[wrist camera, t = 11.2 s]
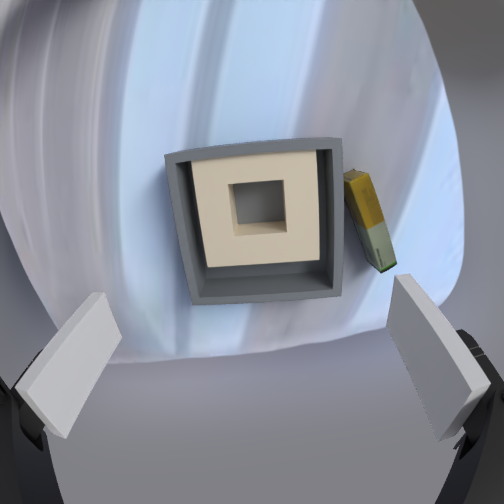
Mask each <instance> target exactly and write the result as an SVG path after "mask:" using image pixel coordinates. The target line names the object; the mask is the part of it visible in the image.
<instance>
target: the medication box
mask: <svg viewBox="0 0 504 504" xmlns="http://www.w3.org/2000/svg"><path fill="white" fill-rule="evenodd" d="M343 178H344V198H345V200H346V203H347V205H348V208H349V211H350V213H351V216H352V218H353V221H354V224H355V227H356V229H357V232H358V235H359V238H360V241H361V244H362V247H363V250H364V253H365V255H366V258H367V261H368V262H369V263H370V264H371V265H372V266H373V267H374V268H376V269H377V270H378V271H379V272H380V273H383V272H385V271H387V270H389V269H391V268H392V267H394V266H395V265H396V264H397V261H396V257H395V253H394V250H393V246H392V242H391V239H390V236H389V232H388V229H387V226H386V222H385V219H384V216H383V213H382V210H381V207H380V204H379V201H378V198H377V195H376V192H375V189H374V187H373V184H372V181H371V178H370V176H369V174H368V173H365V172H361V171H356V170H355V169H353V170H351V171H349V172H346V173H345V174H343Z"/></svg>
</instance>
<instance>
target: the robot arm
mask: <svg viewBox="0 0 504 504" xmlns="http://www.w3.org/2000/svg"><path fill="white" fill-rule="evenodd" d="M386 327H387V329H388V331H389V333H390V335H391V337H392V339H393V341H394V343H395V345H396V347H397V349H398V351H399V353H400V355H401V358H402V359H403V362H404V363H405V366H406V368H407V370H408V372H409V375H410V377H411V379H412V381H413V383H414V386H415V388H416V390H417V392H418V395H419V397H420V400H421V402H422V404H423V406H424V409H425V411H426V414H427V416H428V419H429V421H430V424H431V426H432V429H433V431H434V434H435V437H436V439H437V442H439V441H442V440H444V439H447V438H450V437H452V436H455V435H456V434H457V432H458V431H459V430H460V429H461V427H462V426H463V427H464V430H465V432H466V433H465V434H464V435H463V437H461V439H460V440H459V441H458V442H457V444H456V445H455V447H454V448H453V449H457V447H458V446H459V445H460V446H459V449H458V452H457V454H456V457H455V459H454V462H453V465H452V467H451V470H450V472H449V474H448V477H447V479H446V481H445V484H444V486H443V488H442V490H441V492H440V494H439V496H438V498H437V500H436V502H435V504H504V381H503V380H502V378H501V377H500V376H499V374H498V372H497V371H496V369H495V368H494V366H493V365H492V363H491V362H490V360H489V359H488V358H487V356H486V355H484V352H483V351H482V349H481V348H479V345H478V344H477V342H476V341H475V340H474V338H473V337H472V336H471V335H469V334H468V333H467V332H465V331H464V330H462V329H461V330H457V331H455V330H454V329H453V327H452V326H451V324H450V323H449V322H448V320H447V319H446V318H445V317H444V315H443V314H442V313H441V311H440V310H439V309H438V307H437V306H436V305H435V304H434V302H433V301H432V300H431V299H430V297H429V296H428V295H427V294H426V292H425V291H424V290H423V289H422V288H421V286H420V285H419V284H418V283H417V282H416V280H415V279H414V278H413V277H412V276H411V274H403V275H395V277H394V284H393V291H392V297H391V303H390V308H389V314H388V319H387V324H386ZM121 339H122V336H121V334H120V332H119V329H118V327H117V324H116V322H115V319H114V317H113V314H112V312H111V309H110V307H109V304H108V301H107V299H106V296H105V293H104V292H101V293H91V295H90V296H89V297H88V298H87V299H86V300H85V301H84V302H83V303H82V304H81V306H80V307H79V308H78V309H77V310H76V311H75V312H74V313H73V315H72V316H71V317H70V318H69V319H68V320H67V322H66V323H65V324H64V325H63V326H62V327H61V329H60V330H59V331H58V332H57V333H56V335H55V336H54V337H53V338H52V339H51V341H50V342H49V343H48V344H47V346H46V347H45V348H44V349H42V350H41V351H40V352H39V353H38V354H37V355H36V356H35V358H34V359H33V361H32V362H31V363H30V364H29V365H28V368H26V369H25V371H24V372H23V373H22V375H21V376H20V377H19V379H18V380H17V382H16V383H15V384H14V386H13V387H12V388H11V390H10V389H9V388H8V387H7V385H6V384H5V382H4V381H3V380H2V379H1V377H0V504H64V503H63V499H62V496H61V493H60V490H59V486H58V483H57V480H56V476H55V472H54V468H53V464H52V460H51V455H50V450H49V446H48V441H47V435H46V433H45V432H44V431H43V428H44V426H46V427H47V428H48V429H49V430H50V431H51V432H52V433H53V434H55V435H58V436H60V437H63V438H67V436H68V434H69V432H70V430H71V428H72V426H73V424H74V422H75V420H76V418H77V416H78V414H79V412H80V410H81V409H82V407H83V405H84V403H85V401H86V399H87V397H88V396H89V394H90V392H91V390H92V388H93V387H94V385H95V383H96V381H97V380H98V378H99V376H100V374H101V373H102V371H103V369H104V367H105V366H106V364H107V362H108V361H109V359H110V357H111V355H112V354H113V352H114V350H115V349H116V347H117V345H118V344H119V342H120V340H121Z"/></svg>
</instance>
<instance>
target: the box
mask: <svg viewBox="0 0 504 504" xmlns="http://www.w3.org/2000/svg"><path fill="white" fill-rule="evenodd" d="M164 157H165V164H166V171H167V178H168V184H169V190H170V196H171V202H172V208H173V214H174V219H175V225H176V230H177V235H178V240H179V245H180V250H181V255H182V260H183V265H184V269H185V274H186V279H187V283H188V288H189V292H190V296H191V301H192V305H215V304H238V303H258V302H274V301H289V300H302V299H315V298H327V297H338V296H341V293H342V276H343V250H344V178H343V153H342V138H299V139H281V140H267V141H255V142H245V143H235V144H227V145H218V146H211V147H203V148H197V149H190V150H184V151H178V152H174V153H170V154H166V155H164Z"/></svg>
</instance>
